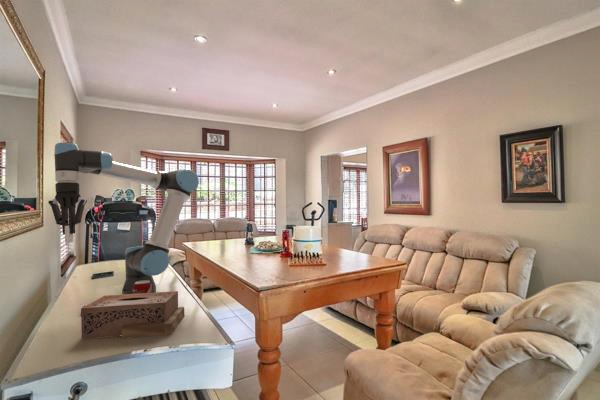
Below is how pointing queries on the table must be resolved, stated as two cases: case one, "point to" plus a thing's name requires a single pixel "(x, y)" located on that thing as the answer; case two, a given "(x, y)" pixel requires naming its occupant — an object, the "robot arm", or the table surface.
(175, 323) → the walnut fence
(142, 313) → the tissue box cover
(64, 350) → the table surface
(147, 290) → the soda can
